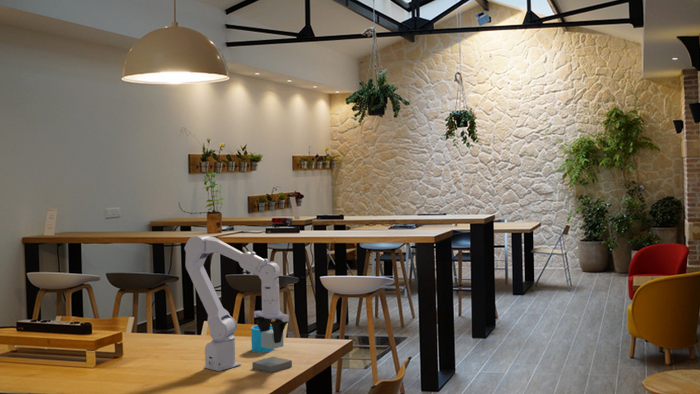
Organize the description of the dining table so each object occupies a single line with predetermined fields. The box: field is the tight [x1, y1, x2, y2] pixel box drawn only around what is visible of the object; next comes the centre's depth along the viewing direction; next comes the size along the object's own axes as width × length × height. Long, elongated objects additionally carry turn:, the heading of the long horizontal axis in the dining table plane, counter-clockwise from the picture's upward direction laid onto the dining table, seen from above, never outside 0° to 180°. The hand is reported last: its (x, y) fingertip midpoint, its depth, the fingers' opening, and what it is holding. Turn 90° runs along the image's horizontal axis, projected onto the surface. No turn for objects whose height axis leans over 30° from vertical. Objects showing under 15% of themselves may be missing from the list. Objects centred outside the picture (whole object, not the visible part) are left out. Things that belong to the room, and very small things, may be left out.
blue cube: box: [261, 329, 285, 350], centre depth 216 cm, size 5×5×5 cm
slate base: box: [251, 356, 293, 374], centre depth 216 cm, size 9×9×2 cm
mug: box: [250, 324, 275, 353], centre depth 243 cm, size 12×8×8 cm
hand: (271, 341), depth 216 cm, fingers closed on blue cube, 5 cm apart
